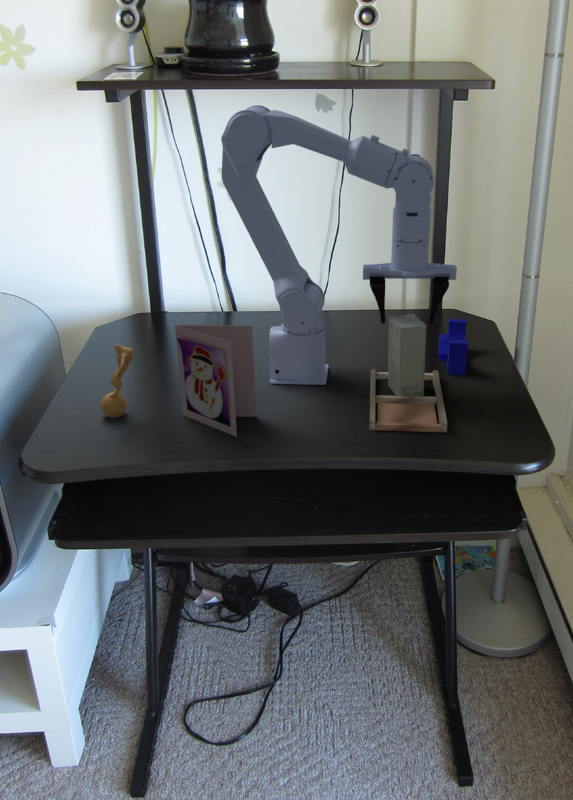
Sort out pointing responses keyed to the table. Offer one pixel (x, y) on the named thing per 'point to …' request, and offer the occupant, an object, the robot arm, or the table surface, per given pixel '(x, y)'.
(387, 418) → the pink framed panel
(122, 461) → the table surface
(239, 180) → the robot arm
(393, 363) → the skincare box
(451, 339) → the cable clip
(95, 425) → the table surface
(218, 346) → the greeting card
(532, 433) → the table surface
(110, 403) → the figurine
